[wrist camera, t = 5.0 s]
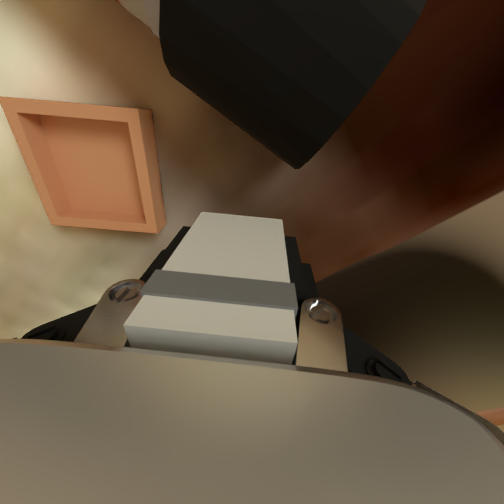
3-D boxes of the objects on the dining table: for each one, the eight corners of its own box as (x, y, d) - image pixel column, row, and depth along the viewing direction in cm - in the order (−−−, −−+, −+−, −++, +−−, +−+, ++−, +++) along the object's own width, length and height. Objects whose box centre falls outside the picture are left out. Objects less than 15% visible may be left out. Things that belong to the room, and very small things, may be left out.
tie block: (284, 217, 11) (303, 341, 5) (273, 283, 13) (277, 423, 7) (199, 209, 11) (117, 321, 5) (203, 276, 13) (148, 409, 7)
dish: (151, 109, 20) (137, 108, 18) (166, 223, 26) (157, 233, 23) (27, 98, 20) (-3, 96, 18) (69, 215, 25) (51, 224, 23)
